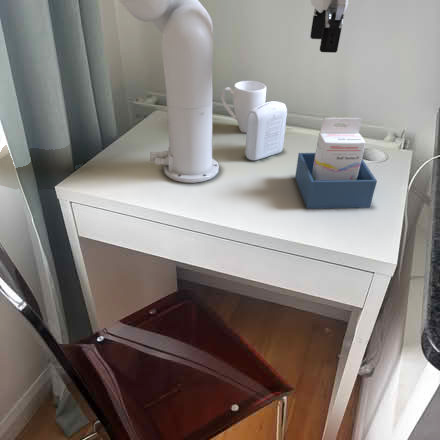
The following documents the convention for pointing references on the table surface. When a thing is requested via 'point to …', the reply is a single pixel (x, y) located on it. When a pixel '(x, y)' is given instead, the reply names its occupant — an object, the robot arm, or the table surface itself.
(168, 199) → the table surface
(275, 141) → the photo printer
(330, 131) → the ink box
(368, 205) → the holder
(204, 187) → the table surface
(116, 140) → the table surface
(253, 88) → the mug
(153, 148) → the table surface
